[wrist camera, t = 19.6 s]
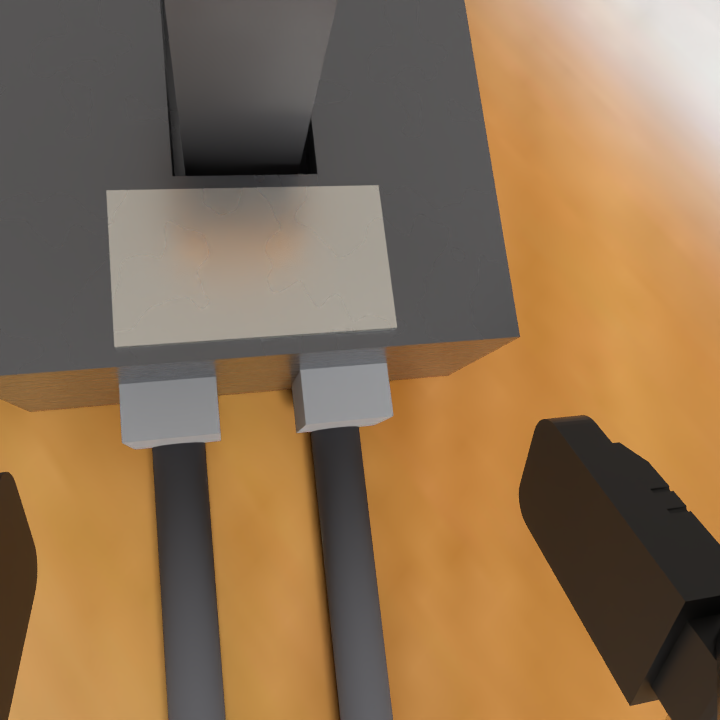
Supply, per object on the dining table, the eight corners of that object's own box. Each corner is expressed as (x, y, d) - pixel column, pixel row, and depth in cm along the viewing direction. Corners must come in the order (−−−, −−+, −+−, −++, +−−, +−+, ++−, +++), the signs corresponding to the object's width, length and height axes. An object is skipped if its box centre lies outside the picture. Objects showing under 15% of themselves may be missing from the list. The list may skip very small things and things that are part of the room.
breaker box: (13, -212, 25) (-54, -434, 19) (369, -175, 28) (408, -356, 22) (29, 411, 21) (-50, 377, 15) (447, 375, 24) (523, 335, 18)
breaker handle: (165, 124, 22) (78, -418, 9) (296, 124, 23) (389, -364, 10) (172, 225, 21) (90, -199, 8) (306, 221, 22) (422, -165, 9)
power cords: (135, 402, 21) (118, 384, 18) (362, 382, 23) (386, 362, 20) (162, 866, 19) (148, 950, 15) (413, 807, 21) (451, 870, 17)
